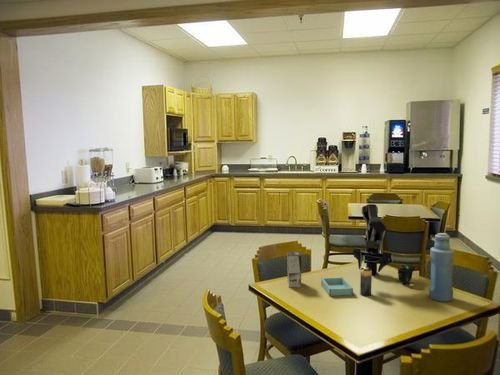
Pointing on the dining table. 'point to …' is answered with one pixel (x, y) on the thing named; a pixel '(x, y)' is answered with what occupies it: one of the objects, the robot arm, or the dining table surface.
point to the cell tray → (337, 286)
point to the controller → (405, 273)
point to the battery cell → (365, 281)
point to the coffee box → (294, 269)
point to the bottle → (441, 269)
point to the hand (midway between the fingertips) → (368, 270)
